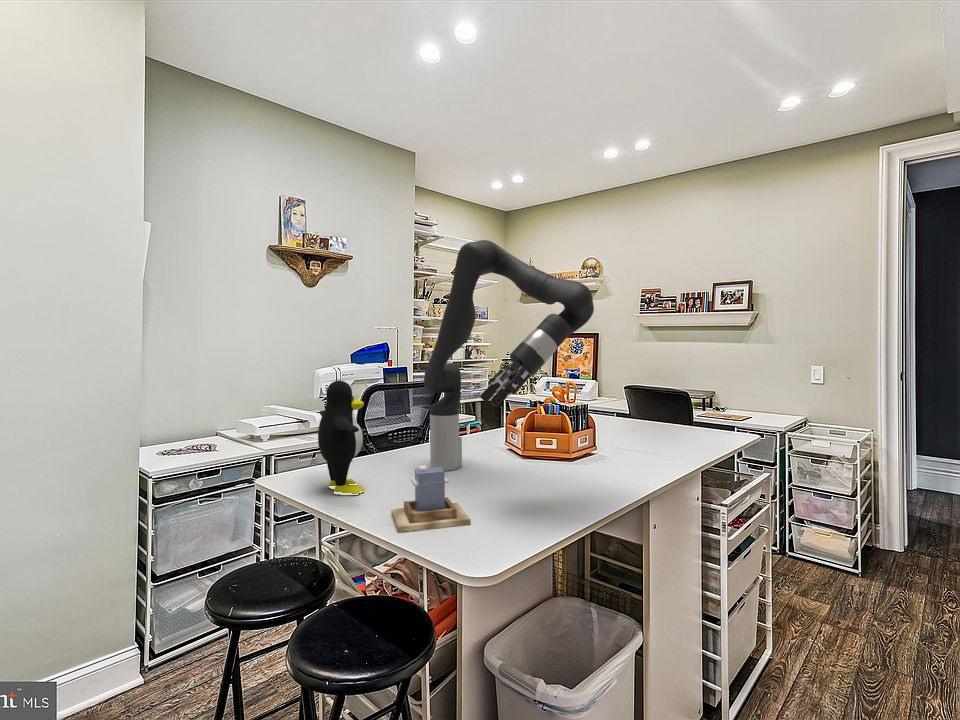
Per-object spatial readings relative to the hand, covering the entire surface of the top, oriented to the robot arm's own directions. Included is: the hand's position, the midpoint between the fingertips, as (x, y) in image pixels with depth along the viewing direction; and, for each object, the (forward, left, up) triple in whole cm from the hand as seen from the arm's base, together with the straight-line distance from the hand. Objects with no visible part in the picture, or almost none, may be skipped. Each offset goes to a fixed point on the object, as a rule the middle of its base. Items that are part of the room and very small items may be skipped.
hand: (487, 401), depth 119 cm
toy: (+20, -39, -27) cm, 52 cm away
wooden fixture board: (+13, -5, -26) cm, 30 cm away
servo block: (+13, -5, -25) cm, 29 cm away
